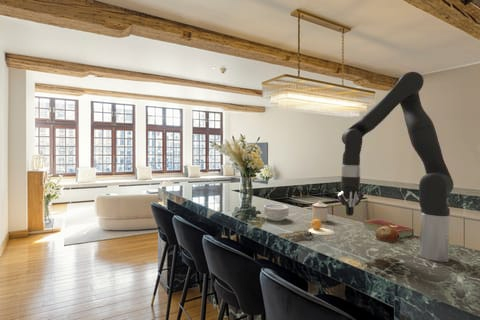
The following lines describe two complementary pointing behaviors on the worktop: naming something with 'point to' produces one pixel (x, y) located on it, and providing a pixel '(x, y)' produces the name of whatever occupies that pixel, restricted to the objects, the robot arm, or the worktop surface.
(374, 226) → the hardcover book
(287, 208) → the paper bowls
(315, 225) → the ball
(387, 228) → the bread roll
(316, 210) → the teacup with lid
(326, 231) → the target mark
